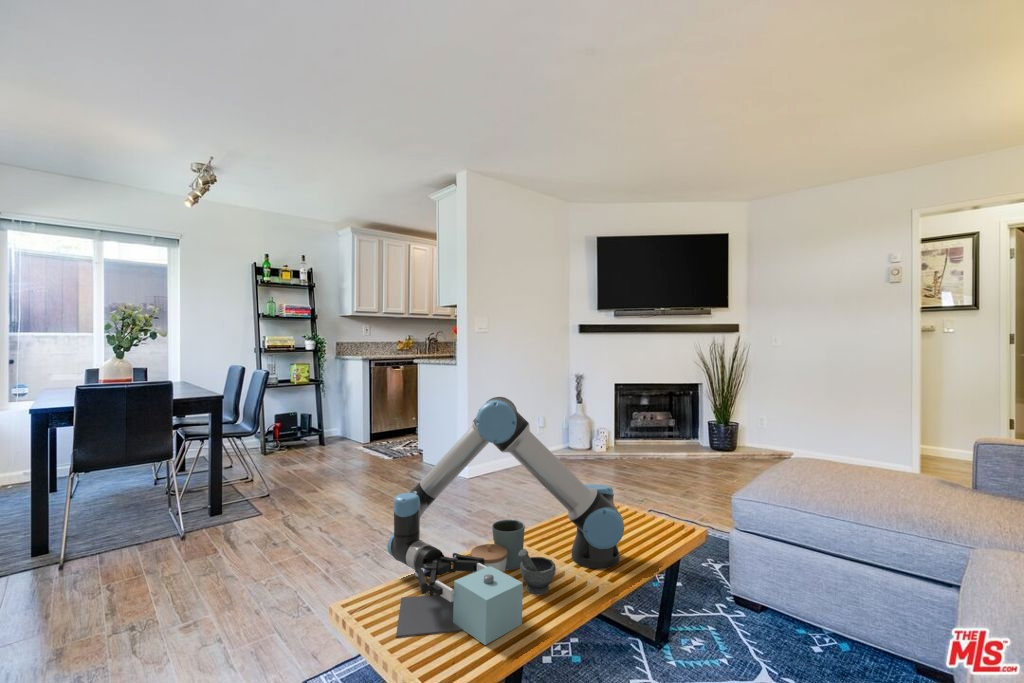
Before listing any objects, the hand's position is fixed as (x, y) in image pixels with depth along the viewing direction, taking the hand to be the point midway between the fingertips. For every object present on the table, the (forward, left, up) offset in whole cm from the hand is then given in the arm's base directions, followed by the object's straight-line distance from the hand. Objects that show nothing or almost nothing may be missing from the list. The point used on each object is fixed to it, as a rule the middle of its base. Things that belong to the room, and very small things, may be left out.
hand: (474, 585), depth 115 cm
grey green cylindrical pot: (-13, -27, -8) cm, 31 cm away
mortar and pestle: (-18, -10, -8) cm, 22 cm away
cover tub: (-3, +4, -7) cm, 9 cm away
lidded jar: (-6, -19, -8) cm, 22 cm away
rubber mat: (+10, -3, -8) cm, 13 cm away
